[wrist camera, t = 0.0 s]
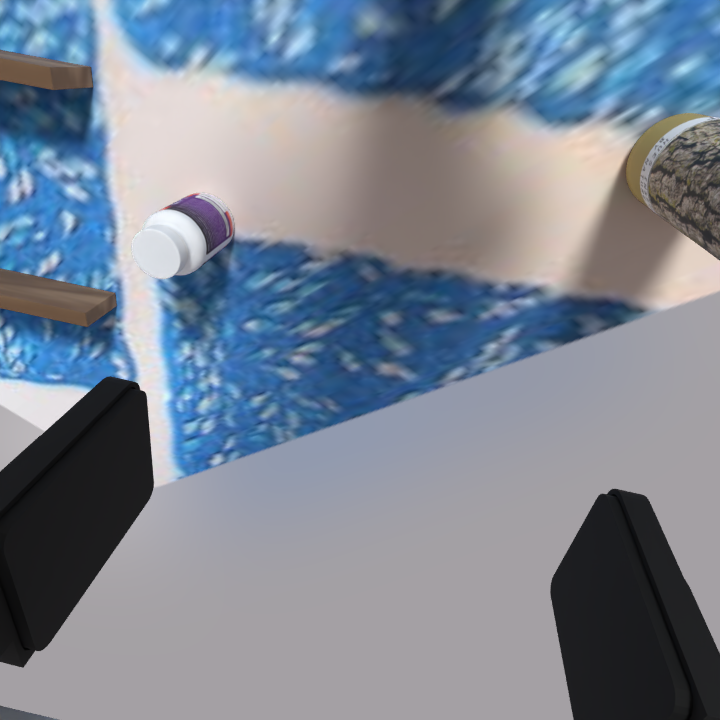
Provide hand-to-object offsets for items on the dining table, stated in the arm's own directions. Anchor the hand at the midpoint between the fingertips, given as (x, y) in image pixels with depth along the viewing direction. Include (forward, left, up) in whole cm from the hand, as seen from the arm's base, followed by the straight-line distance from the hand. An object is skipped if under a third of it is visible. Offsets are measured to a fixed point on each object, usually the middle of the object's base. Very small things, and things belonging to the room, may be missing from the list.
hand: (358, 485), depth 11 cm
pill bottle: (+8, -19, -37) cm, 42 cm away
